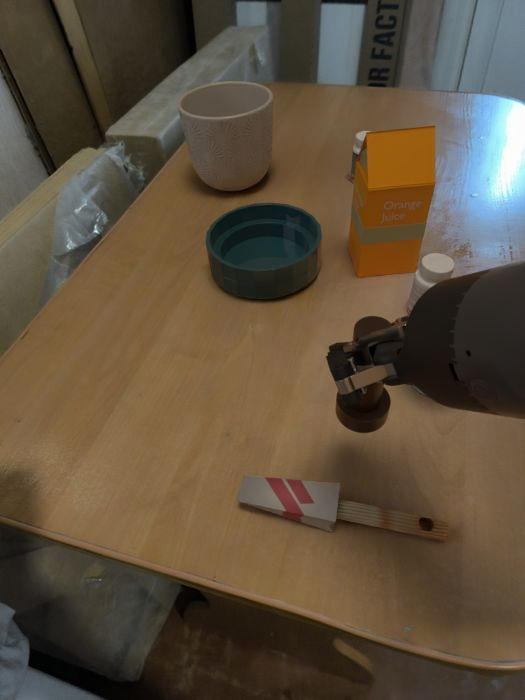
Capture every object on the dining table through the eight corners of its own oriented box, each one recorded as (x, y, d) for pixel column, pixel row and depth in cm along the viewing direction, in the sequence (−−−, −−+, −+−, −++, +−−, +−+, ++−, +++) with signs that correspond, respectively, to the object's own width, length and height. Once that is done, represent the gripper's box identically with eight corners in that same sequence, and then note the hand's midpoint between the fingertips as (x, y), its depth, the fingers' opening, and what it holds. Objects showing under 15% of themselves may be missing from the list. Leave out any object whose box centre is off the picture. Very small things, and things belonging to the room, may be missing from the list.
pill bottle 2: (420, 327, 61) (434, 279, 55) (399, 306, 64) (410, 257, 58) (449, 316, 62) (466, 267, 56) (427, 295, 65) (441, 246, 59)
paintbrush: (244, 463, 46) (449, 506, 43) (245, 475, 48) (441, 517, 45) (233, 499, 44) (450, 548, 40) (235, 510, 46) (442, 558, 42)
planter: (266, 154, 97) (261, 75, 86) (285, 193, 86) (283, 108, 75) (188, 167, 96) (172, 88, 84) (197, 209, 84) (181, 124, 73)
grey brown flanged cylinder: (382, 389, 44) (399, 305, 36) (392, 432, 41) (413, 351, 32) (332, 391, 44) (338, 309, 36) (338, 434, 41) (346, 355, 33)
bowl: (315, 231, 77) (316, 199, 73) (325, 299, 66) (326, 266, 61) (215, 237, 78) (210, 206, 74) (207, 305, 67) (201, 273, 62)
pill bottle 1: (376, 185, 86) (382, 140, 80) (351, 186, 86) (355, 142, 80) (373, 172, 89) (378, 129, 83) (348, 174, 89) (352, 130, 83)
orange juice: (415, 272, 69) (446, 139, 54) (357, 278, 69) (372, 146, 54) (401, 242, 74) (426, 112, 59) (347, 247, 74) (358, 119, 59)
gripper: (598, 219, 23) (403, 276, 40) (377, 325, 20) (263, 340, 36) (642, 352, 24) (433, 354, 41) (438, 479, 20) (299, 424, 37)
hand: (353, 347), depth 38 cm, fingers closed on grey brown flanged cylinder, 3 cm apart
